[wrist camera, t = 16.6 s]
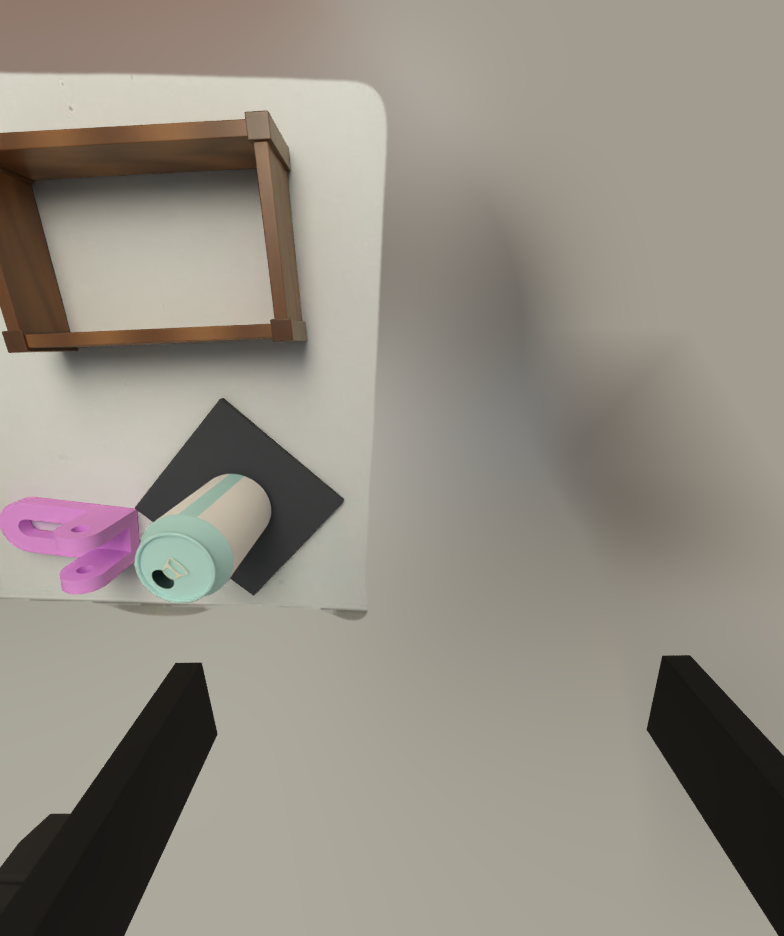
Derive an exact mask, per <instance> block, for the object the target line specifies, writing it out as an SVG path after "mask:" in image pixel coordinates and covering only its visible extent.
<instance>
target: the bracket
mask: <svg viewBox="0 0 784 936" xmlns="http://www.w3.org/2000/svg"><path fill="white" fill-rule="evenodd" d="M31 520H35V521H44V522H52V523H61V524H64V525H62V526H60V527H58V528H57V529H56V530H55V531H54V532H53V531H45V530H39V529H36V528H35V527H34V526H33V525H32V523H31ZM0 528H1V530H2V532H3V534H4V536H5V537H6V538H7V540H8V541H9V542H10V543H12V544H13V545H14V546H16V547H17V548H19V549H21V550H24V551H27V552H33V553H42V554H50V555H59V556H68V557H77V558H78V559H77V560H75V561H74V562H72V563H71V564H69V565H68V566H66V567H65V568H63V569H62V570H61V572H60V580H61V586H62V590H63V591H64V592H66V593H69V594H84V593H89V592H93V591H96V590H98V589H100V588H102V587H104V586H106V585H107V584H108V583H109V582H111V581H112V580H113V579H114V578H115V577H117V576H118V575H119V574H120V573H121V572H123V571H124V570H125V569H126V568H128V567H129V566H130V565H131V564H132V563H134V562H135V554H136V551H137V549H138V547H139V545H140V544H139V531H138V517H137V510H136V509H133V508H124V507H116V506H107V505H98V504H90V503H81V502H73V501H64V500H55V499H47V498H38V497H28V498H24V499H22V500H19V501H17V502H14V503H12V504H9V505H8V506H6V507H5V508H4V509H3V510H2V512H1V514H0Z"/></svg>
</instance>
